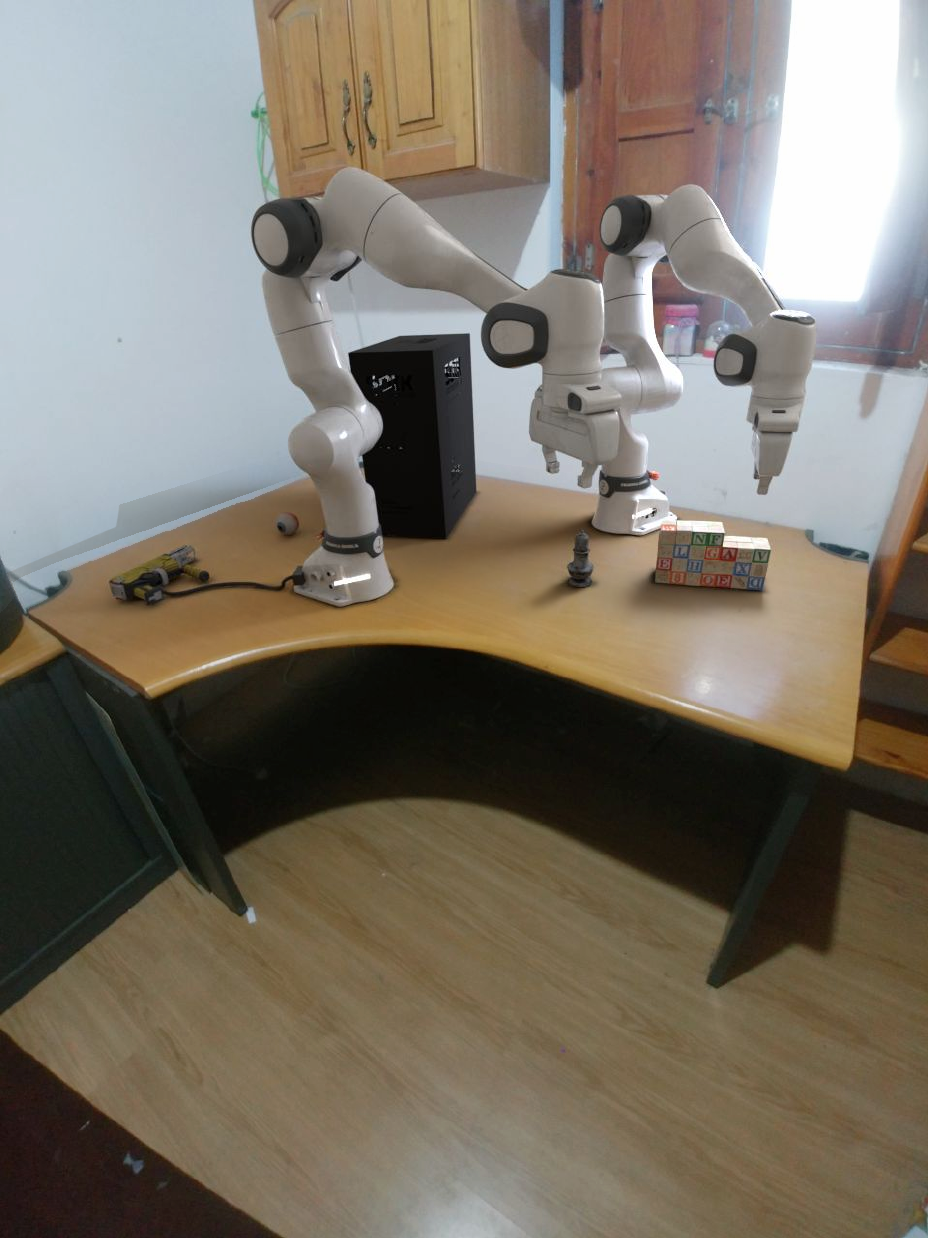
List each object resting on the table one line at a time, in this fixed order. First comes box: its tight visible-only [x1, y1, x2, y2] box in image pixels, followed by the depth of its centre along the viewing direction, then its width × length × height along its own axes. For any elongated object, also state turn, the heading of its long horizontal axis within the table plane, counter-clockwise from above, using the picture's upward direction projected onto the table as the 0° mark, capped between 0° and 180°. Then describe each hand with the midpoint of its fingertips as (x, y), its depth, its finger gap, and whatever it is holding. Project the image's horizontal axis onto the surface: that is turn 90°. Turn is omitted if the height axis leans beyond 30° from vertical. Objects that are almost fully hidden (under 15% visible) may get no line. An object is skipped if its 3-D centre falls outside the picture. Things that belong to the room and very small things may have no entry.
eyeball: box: [275, 511, 300, 536], centre depth 163 cm, size 6×6×6 cm
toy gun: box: [108, 544, 210, 607], centre depth 141 cm, size 5×24×15 cm
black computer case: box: [347, 332, 477, 540], centre depth 163 cm, size 38×20×45 cm, turn 167°
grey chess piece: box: [566, 529, 595, 588], centre depth 129 cm, size 6×6×12 cm
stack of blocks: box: [654, 519, 772, 591], centre depth 126 cm, size 21×6×12 cm, turn 73°
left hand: (567, 479), depth 99 cm, fingers open, 8 cm apart
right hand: (759, 485), depth 116 cm, fingers open, 8 cm apart
